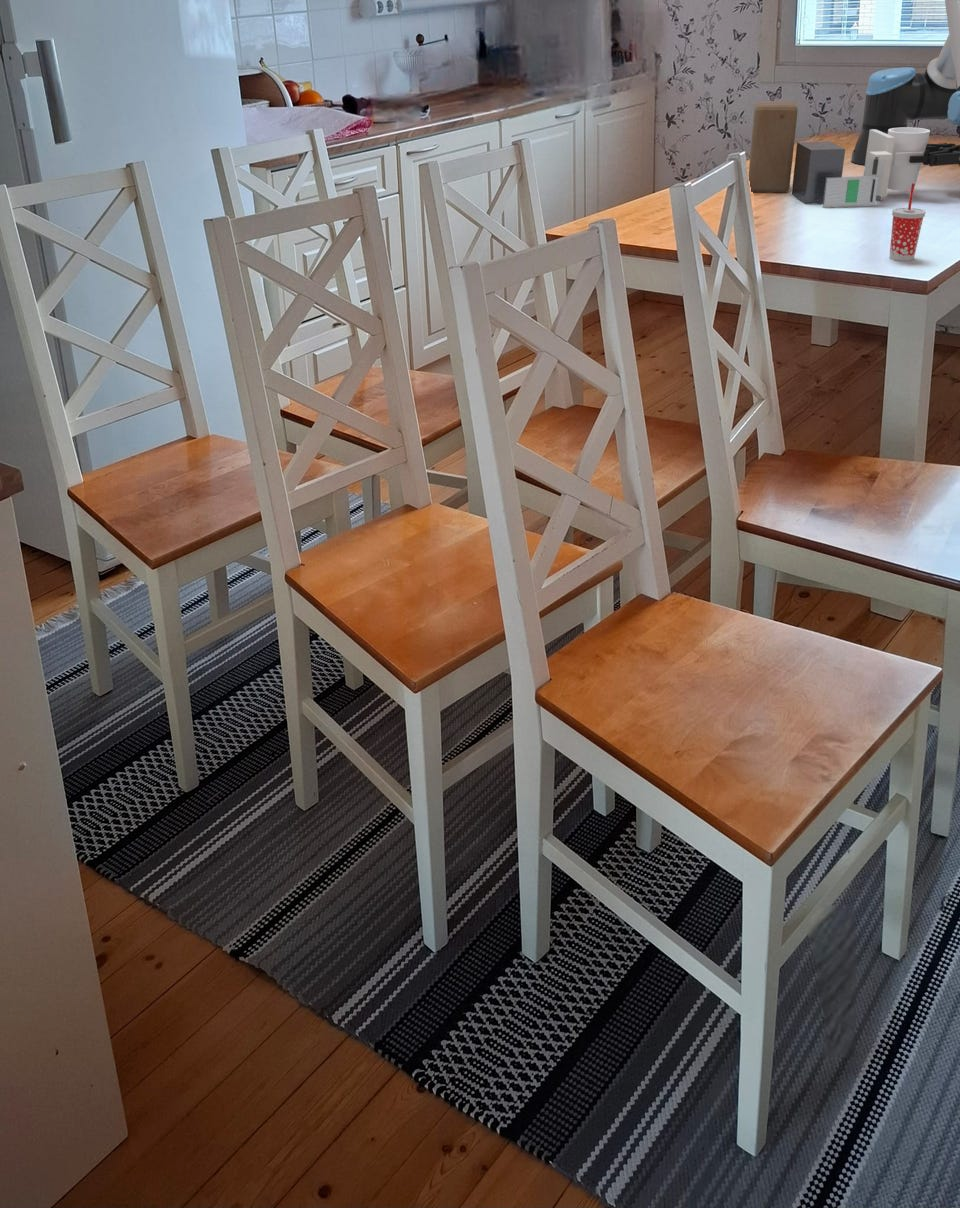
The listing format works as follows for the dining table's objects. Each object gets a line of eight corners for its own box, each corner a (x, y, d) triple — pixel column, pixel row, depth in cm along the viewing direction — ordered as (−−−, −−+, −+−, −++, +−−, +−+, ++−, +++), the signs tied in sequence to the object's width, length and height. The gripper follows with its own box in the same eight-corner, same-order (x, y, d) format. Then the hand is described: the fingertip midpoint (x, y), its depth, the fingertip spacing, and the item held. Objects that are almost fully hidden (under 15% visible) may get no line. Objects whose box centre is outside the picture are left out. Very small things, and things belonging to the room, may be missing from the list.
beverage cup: (909, 263, 226) (922, 187, 219) (879, 258, 230) (890, 184, 223) (923, 257, 230) (935, 182, 223) (893, 252, 234) (904, 179, 227)
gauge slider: (868, 186, 287) (875, 129, 281) (892, 199, 272) (901, 140, 266) (845, 186, 287) (853, 130, 280) (868, 200, 272) (877, 140, 266)
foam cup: (892, 183, 287) (900, 126, 280) (928, 187, 281) (937, 129, 275) (872, 188, 281) (880, 131, 275) (908, 193, 275) (918, 134, 269)
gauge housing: (866, 192, 287) (873, 140, 281) (889, 205, 273) (898, 151, 267) (791, 194, 287) (797, 142, 281) (811, 208, 272) (817, 153, 266)
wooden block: (789, 193, 288) (798, 105, 278) (747, 192, 290) (755, 105, 280) (787, 185, 296) (796, 100, 286) (747, 185, 298) (755, 100, 288)
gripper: (997, 177, 270) (901, 180, 269) (958, 161, 289) (868, 164, 289) (1003, 143, 266) (906, 146, 266) (963, 128, 286) (873, 131, 285)
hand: (887, 155), depth 277 cm, fingers closed on foam cup, 9 cm apart
